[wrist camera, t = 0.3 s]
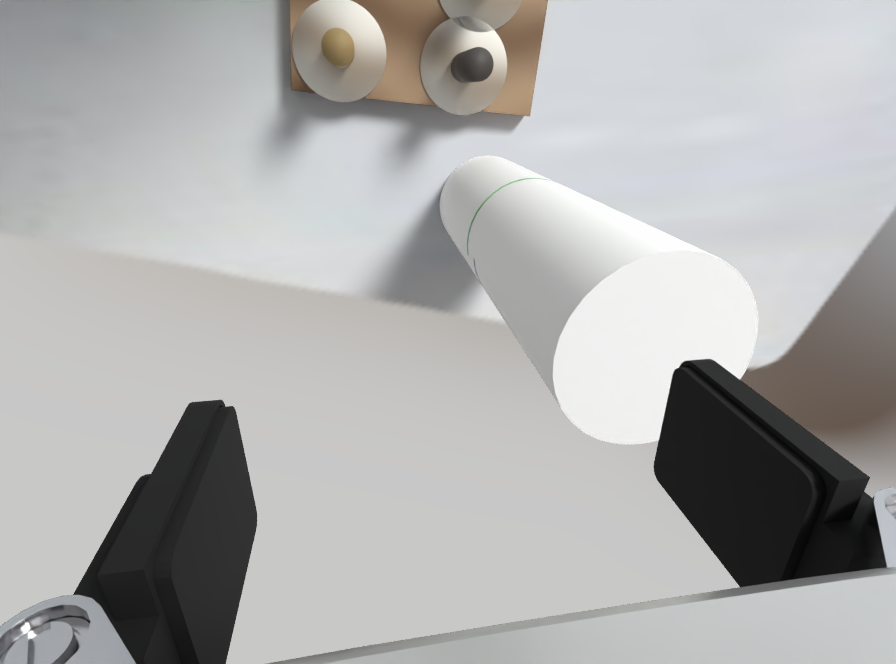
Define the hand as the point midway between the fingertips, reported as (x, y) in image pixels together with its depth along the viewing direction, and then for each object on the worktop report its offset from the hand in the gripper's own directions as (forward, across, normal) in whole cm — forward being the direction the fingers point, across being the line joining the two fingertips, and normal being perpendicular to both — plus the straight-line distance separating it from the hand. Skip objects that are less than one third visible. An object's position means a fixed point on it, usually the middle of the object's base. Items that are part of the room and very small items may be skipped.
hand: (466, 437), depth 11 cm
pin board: (+30, -3, -11) cm, 32 cm away
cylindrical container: (+30, -7, +1) cm, 31 cm away
